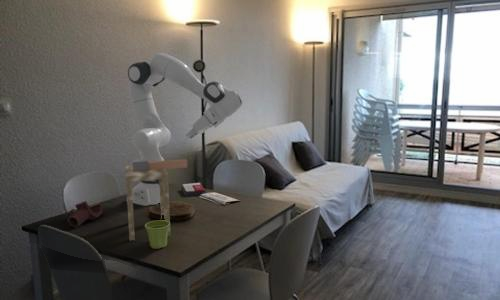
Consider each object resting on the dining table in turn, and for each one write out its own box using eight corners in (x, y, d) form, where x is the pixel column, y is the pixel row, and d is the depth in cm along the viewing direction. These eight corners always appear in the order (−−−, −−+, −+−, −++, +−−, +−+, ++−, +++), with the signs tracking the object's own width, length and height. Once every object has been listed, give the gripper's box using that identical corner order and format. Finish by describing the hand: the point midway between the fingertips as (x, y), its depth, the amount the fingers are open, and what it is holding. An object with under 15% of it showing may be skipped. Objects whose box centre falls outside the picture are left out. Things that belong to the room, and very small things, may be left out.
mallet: (185, 165, 178) (185, 156, 177) (187, 168, 172) (187, 158, 172) (133, 168, 172) (132, 159, 171) (133, 171, 166) (132, 162, 165)
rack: (165, 219, 187) (163, 163, 183) (170, 236, 166) (167, 173, 162) (129, 222, 183) (125, 165, 178) (129, 240, 162) (125, 176, 158)
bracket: (107, 210, 192) (96, 192, 190) (84, 229, 177) (72, 210, 175) (98, 213, 194) (87, 195, 192) (74, 233, 179) (62, 213, 177)
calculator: (185, 191, 223) (181, 183, 237) (185, 198, 224) (181, 190, 238) (205, 189, 226) (200, 181, 240) (205, 196, 227) (200, 188, 241)
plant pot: (141, 250, 153) (140, 227, 152) (152, 240, 162) (151, 219, 161) (165, 251, 151) (164, 229, 150) (174, 241, 160) (173, 220, 159)
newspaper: (197, 198, 223) (198, 193, 222) (216, 196, 231) (216, 192, 230) (222, 207, 205) (222, 202, 205) (241, 205, 213) (241, 200, 213)
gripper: (209, 114, 197) (186, 132, 197) (206, 110, 177) (181, 130, 176) (217, 125, 198) (194, 143, 197) (215, 121, 177) (190, 141, 177)
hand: (188, 137), depth 187 cm, fingers open, 8 cm apart
